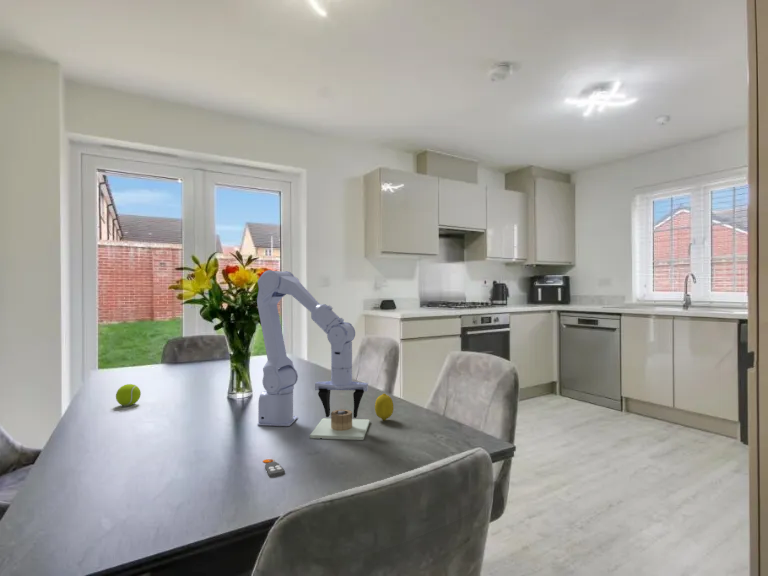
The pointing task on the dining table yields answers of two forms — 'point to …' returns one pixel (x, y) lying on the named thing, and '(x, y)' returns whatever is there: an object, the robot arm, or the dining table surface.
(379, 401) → the lemon
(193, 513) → the dining table surface
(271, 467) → the key chain
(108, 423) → the dining table surface
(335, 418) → the bead
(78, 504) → the dining table surface
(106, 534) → the dining table surface
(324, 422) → the white board with peg
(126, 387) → the tennis ball
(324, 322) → the robot arm
